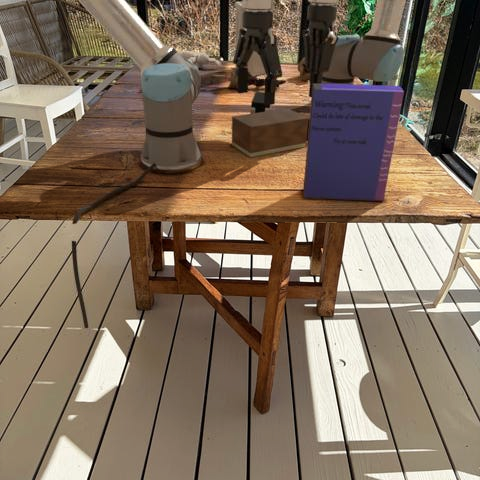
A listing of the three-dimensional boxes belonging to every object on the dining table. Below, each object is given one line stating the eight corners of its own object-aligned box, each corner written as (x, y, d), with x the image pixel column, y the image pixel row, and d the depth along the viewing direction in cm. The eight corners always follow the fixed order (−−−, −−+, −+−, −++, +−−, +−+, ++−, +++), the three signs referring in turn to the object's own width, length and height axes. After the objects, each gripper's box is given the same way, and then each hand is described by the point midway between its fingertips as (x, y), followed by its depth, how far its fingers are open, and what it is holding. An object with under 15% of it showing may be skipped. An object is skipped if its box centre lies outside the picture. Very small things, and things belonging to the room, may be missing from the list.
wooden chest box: (285, 135, 143) (287, 108, 139) (305, 146, 135) (308, 118, 131) (231, 144, 135) (231, 116, 131) (250, 157, 127) (251, 127, 123)
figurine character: (269, 131, 150) (273, 112, 162) (270, 107, 146) (274, 90, 157) (248, 129, 151) (253, 111, 163) (248, 106, 146) (254, 89, 158)
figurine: (210, 87, 179) (288, 95, 182) (212, 65, 176) (291, 73, 180) (208, 84, 201) (278, 91, 205) (210, 64, 198) (280, 71, 202)
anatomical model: (307, 83, 216) (306, 83, 202) (293, 69, 215) (291, 69, 201) (327, 61, 212) (327, 60, 198) (313, 47, 211) (312, 45, 197)
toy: (176, 74, 211) (175, 58, 207) (152, 64, 228) (150, 49, 225) (222, 68, 223) (222, 53, 219) (196, 59, 240) (196, 44, 237)
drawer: (309, 129, 146) (310, 108, 142) (328, 138, 139) (330, 116, 135) (243, 140, 136) (244, 118, 133) (260, 150, 129) (261, 128, 126)
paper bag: (273, 76, 210) (276, 6, 196) (239, 77, 209) (240, 6, 194) (266, 67, 226) (268, 2, 212) (235, 67, 225) (235, 1, 210)
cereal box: (379, 191, 109) (398, 84, 97) (383, 201, 105) (404, 90, 93) (303, 188, 110) (312, 82, 98) (304, 197, 106) (314, 88, 94)
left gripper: (300, 14, 108) (294, 108, 119) (245, 5, 127) (244, 86, 138) (273, 16, 105) (268, 112, 116) (220, 6, 123) (221, 89, 134)
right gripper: (350, 5, 120) (339, 100, 132) (319, 1, 129) (311, 90, 142) (326, 6, 116) (317, 103, 129) (296, 2, 126) (290, 92, 138)
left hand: (255, 98), depth 127 cm, fingers open, 13 cm apart
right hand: (314, 96), depth 135 cm, fingers closed
